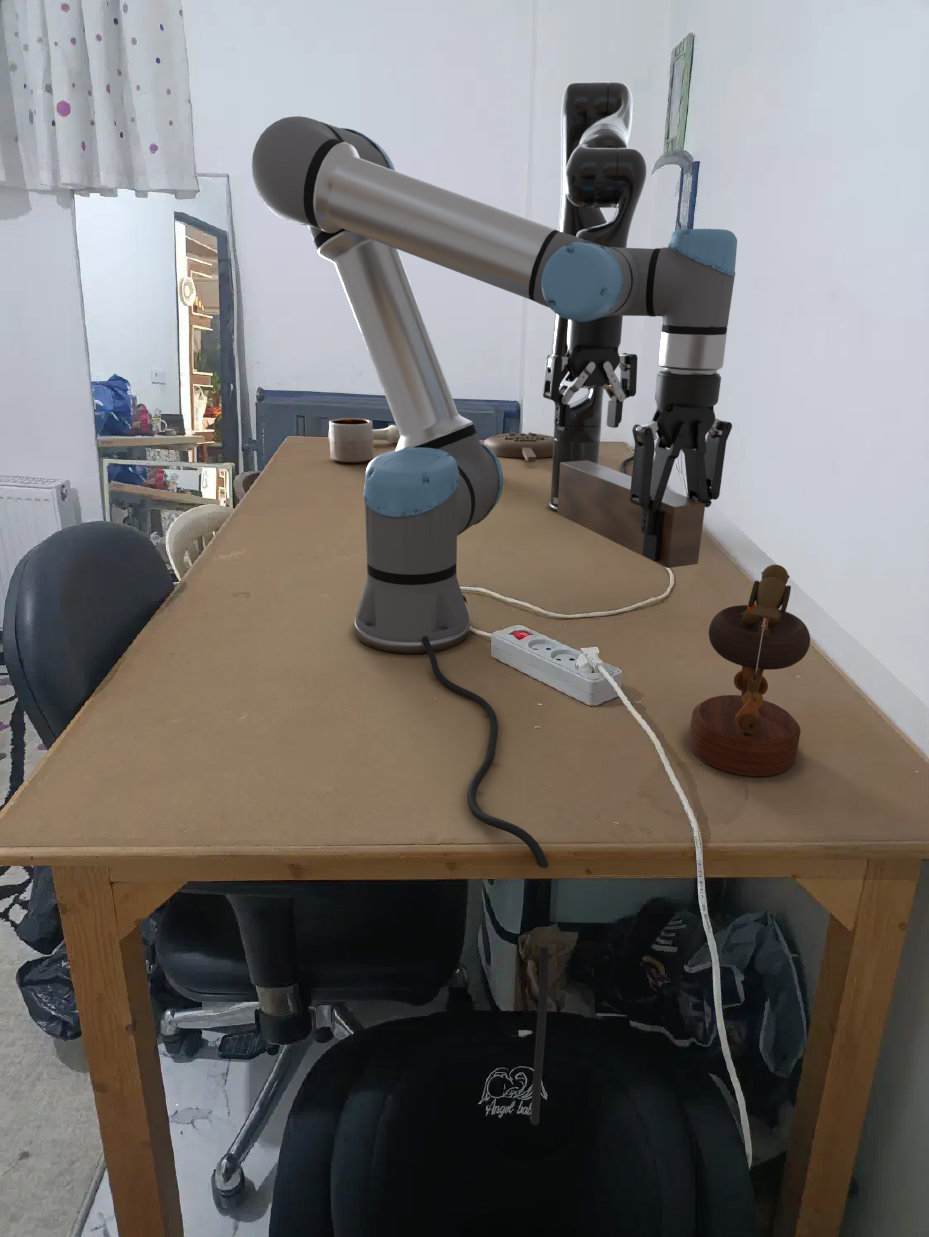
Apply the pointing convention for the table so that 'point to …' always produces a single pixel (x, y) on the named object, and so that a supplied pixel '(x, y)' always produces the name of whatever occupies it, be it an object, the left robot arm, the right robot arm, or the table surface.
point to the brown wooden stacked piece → (752, 684)
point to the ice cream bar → (521, 445)
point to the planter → (351, 440)
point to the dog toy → (384, 434)
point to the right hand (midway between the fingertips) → (587, 428)
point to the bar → (628, 512)
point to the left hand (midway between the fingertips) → (668, 555)
